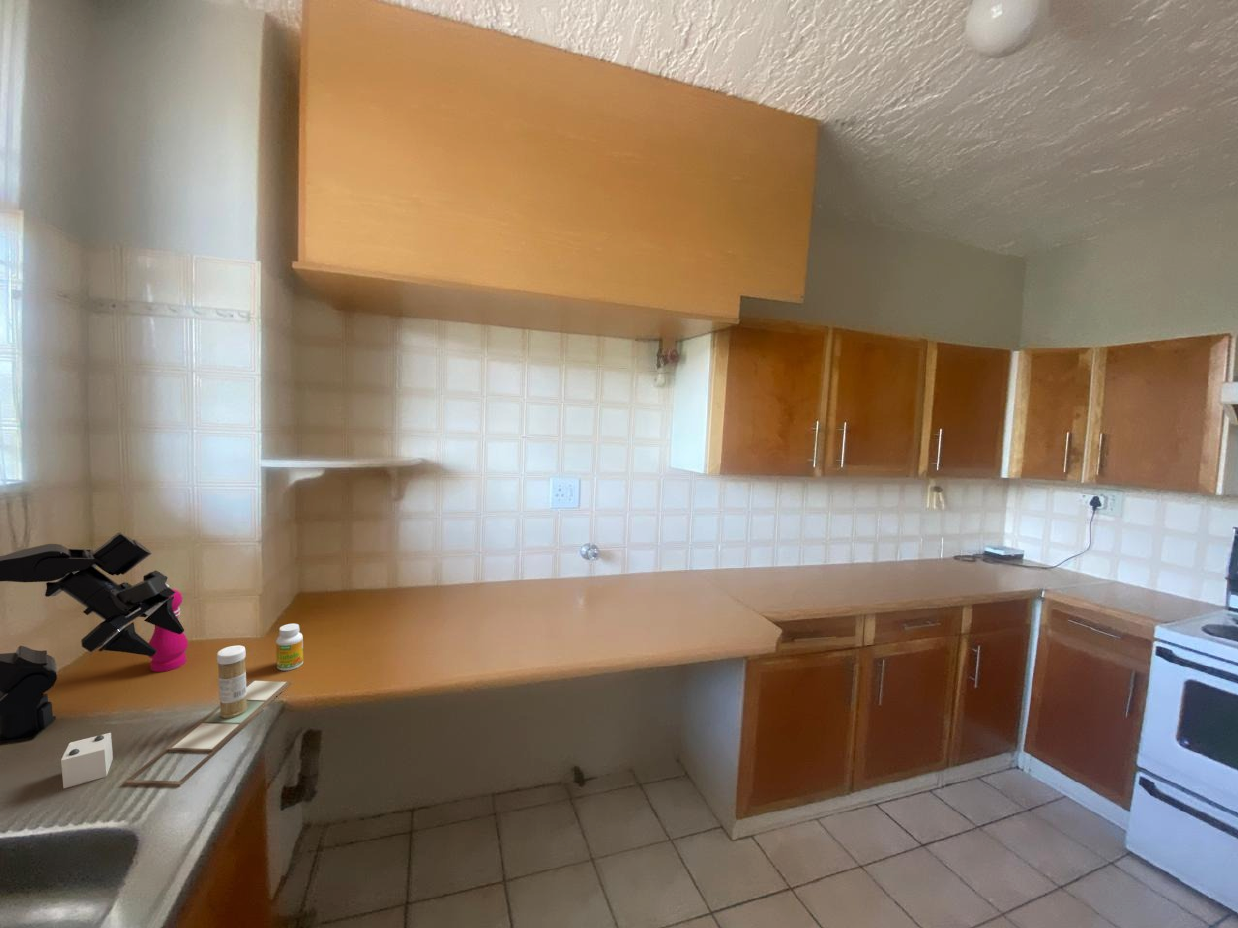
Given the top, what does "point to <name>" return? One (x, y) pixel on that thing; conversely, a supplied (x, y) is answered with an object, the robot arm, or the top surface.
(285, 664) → the supplement bottle
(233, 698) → the tan spice jar
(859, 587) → the top surface
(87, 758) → the die
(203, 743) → the game board
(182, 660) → the pepper mill
